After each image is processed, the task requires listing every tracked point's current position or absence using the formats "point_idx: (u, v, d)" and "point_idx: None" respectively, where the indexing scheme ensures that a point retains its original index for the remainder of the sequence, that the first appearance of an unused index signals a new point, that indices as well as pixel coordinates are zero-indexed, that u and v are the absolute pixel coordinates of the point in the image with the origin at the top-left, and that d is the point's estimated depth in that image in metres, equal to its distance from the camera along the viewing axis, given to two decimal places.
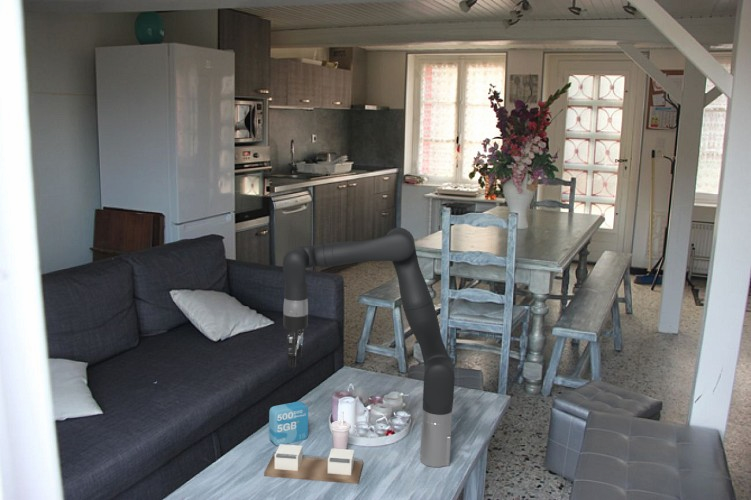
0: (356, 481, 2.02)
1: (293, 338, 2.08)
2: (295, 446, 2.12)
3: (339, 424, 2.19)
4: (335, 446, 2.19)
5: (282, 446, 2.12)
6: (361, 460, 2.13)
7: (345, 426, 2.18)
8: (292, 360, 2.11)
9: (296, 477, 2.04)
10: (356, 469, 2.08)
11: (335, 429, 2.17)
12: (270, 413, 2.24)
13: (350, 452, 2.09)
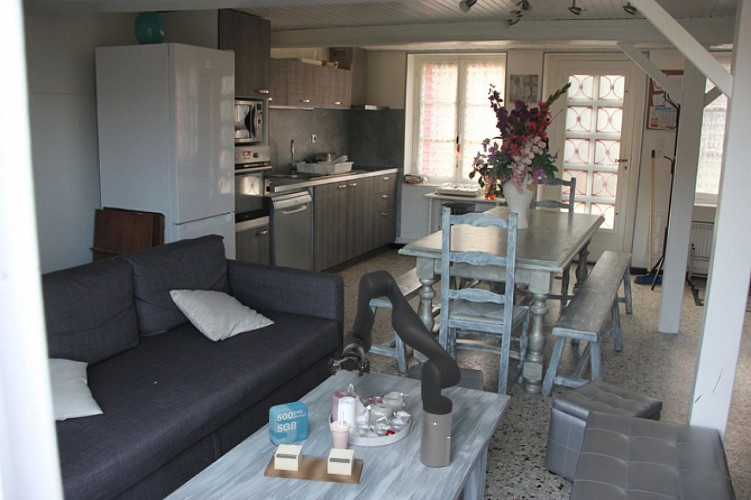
0: (356, 481, 2.02)
1: None
2: (295, 446, 2.12)
3: (339, 424, 2.19)
4: (335, 446, 2.19)
5: (282, 446, 2.12)
6: (361, 460, 2.13)
7: (345, 426, 2.18)
8: None
9: (296, 477, 2.04)
10: (356, 469, 2.08)
11: (335, 429, 2.17)
12: (270, 413, 2.24)
13: (350, 452, 2.09)
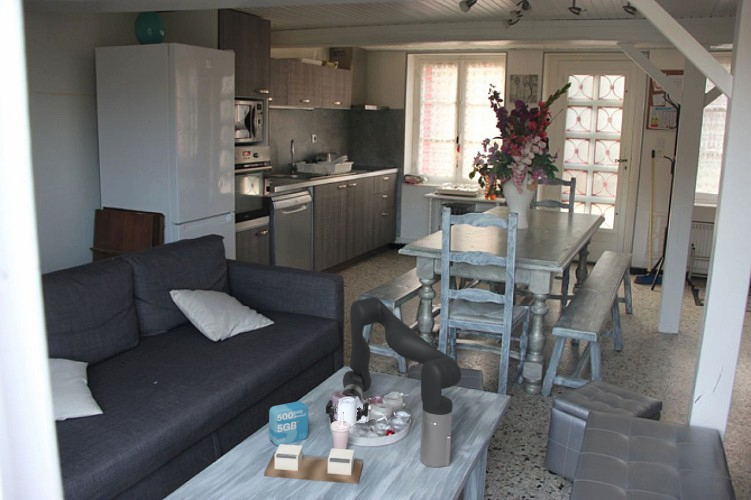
0: (356, 481, 2.02)
1: None
2: (295, 446, 2.12)
3: (339, 424, 2.19)
4: (335, 446, 2.19)
5: (282, 446, 2.12)
6: (361, 460, 2.13)
7: (345, 426, 2.18)
8: None
9: (296, 477, 2.04)
10: (356, 469, 2.08)
11: (335, 429, 2.17)
12: (270, 413, 2.24)
13: (350, 452, 2.09)
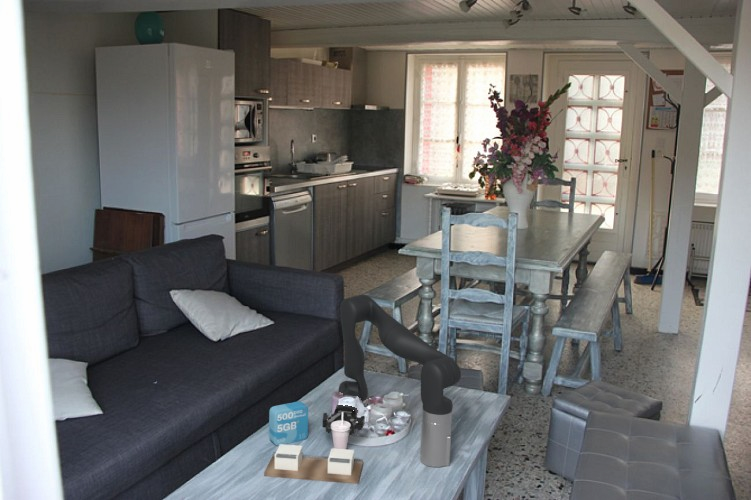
0: (356, 481, 2.02)
1: None
2: (295, 446, 2.12)
3: (339, 424, 2.19)
4: (335, 446, 2.19)
5: (282, 446, 2.12)
6: (361, 460, 2.13)
7: (345, 426, 2.18)
8: None
9: (296, 477, 2.04)
10: (356, 469, 2.08)
11: (335, 429, 2.17)
12: (270, 413, 2.24)
13: (350, 452, 2.09)
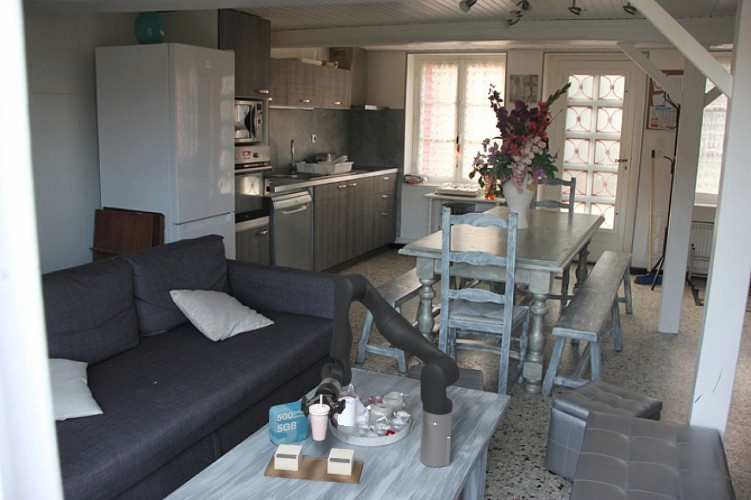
0: (356, 481, 2.02)
1: None
2: (295, 446, 2.12)
3: (318, 407, 2.08)
4: (313, 430, 2.08)
5: (282, 446, 2.12)
6: (361, 460, 2.13)
7: (324, 409, 2.07)
8: None
9: (296, 477, 2.04)
10: (356, 469, 2.08)
11: (313, 412, 2.06)
12: (270, 413, 2.24)
13: (350, 452, 2.09)
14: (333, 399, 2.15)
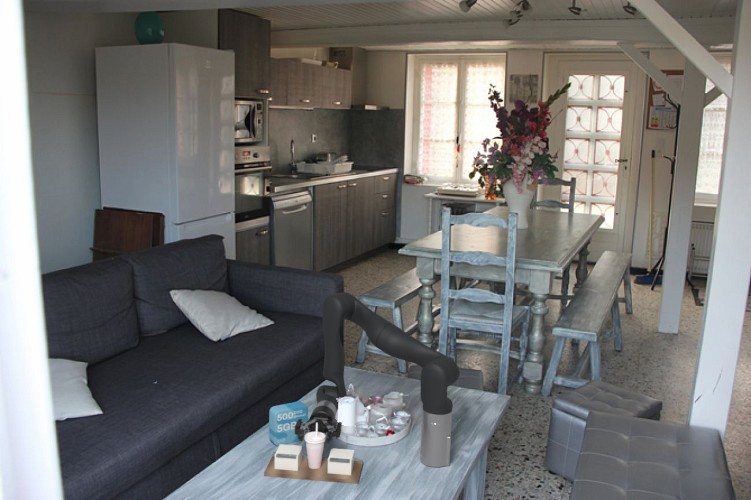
0: (356, 481, 2.02)
1: None
2: (295, 446, 2.12)
3: (313, 435, 2.08)
4: (309, 459, 2.07)
5: (282, 446, 2.12)
6: (361, 460, 2.13)
7: (319, 438, 2.07)
8: None
9: (296, 477, 2.04)
10: (356, 469, 2.08)
11: (309, 441, 2.05)
12: (270, 413, 2.24)
13: (350, 452, 2.09)
14: (329, 423, 2.14)
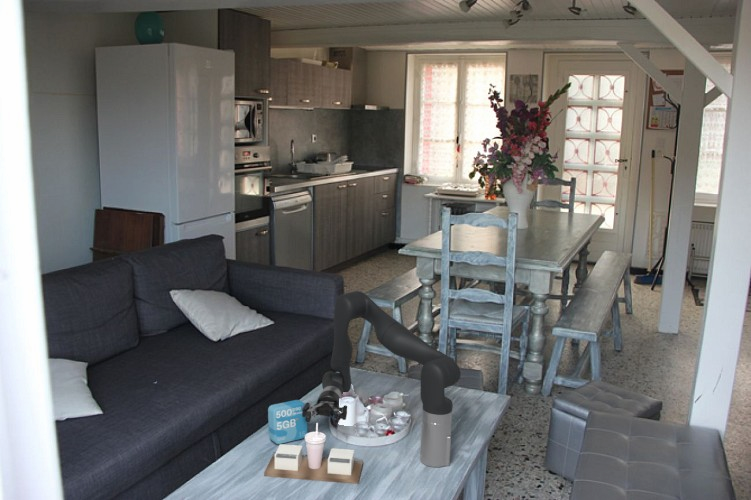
0: (356, 481, 2.02)
1: None
2: (295, 446, 2.12)
3: (313, 436, 2.07)
4: (309, 459, 2.07)
5: (282, 446, 2.12)
6: (361, 460, 2.13)
7: (320, 438, 2.06)
8: None
9: (296, 477, 2.04)
10: (356, 469, 2.08)
11: (309, 441, 2.05)
12: (269, 411, 2.25)
13: (350, 452, 2.09)
14: (335, 406, 2.27)
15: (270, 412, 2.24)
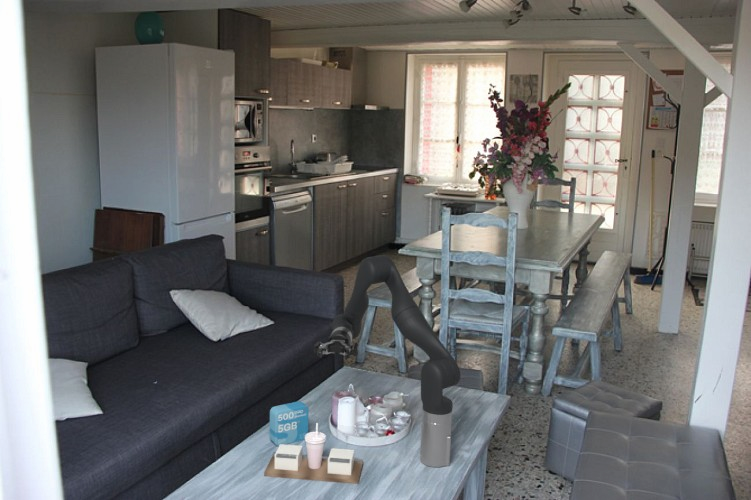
0: (356, 481, 2.02)
1: None
2: (295, 446, 2.12)
3: (313, 436, 2.07)
4: (309, 459, 2.07)
5: (282, 446, 2.12)
6: (361, 460, 2.13)
7: (320, 438, 2.06)
8: None
9: (296, 477, 2.04)
10: (356, 469, 2.08)
11: (309, 441, 2.05)
12: (271, 413, 2.24)
13: (350, 452, 2.09)
14: (346, 344, 2.30)
15: (272, 414, 2.23)
